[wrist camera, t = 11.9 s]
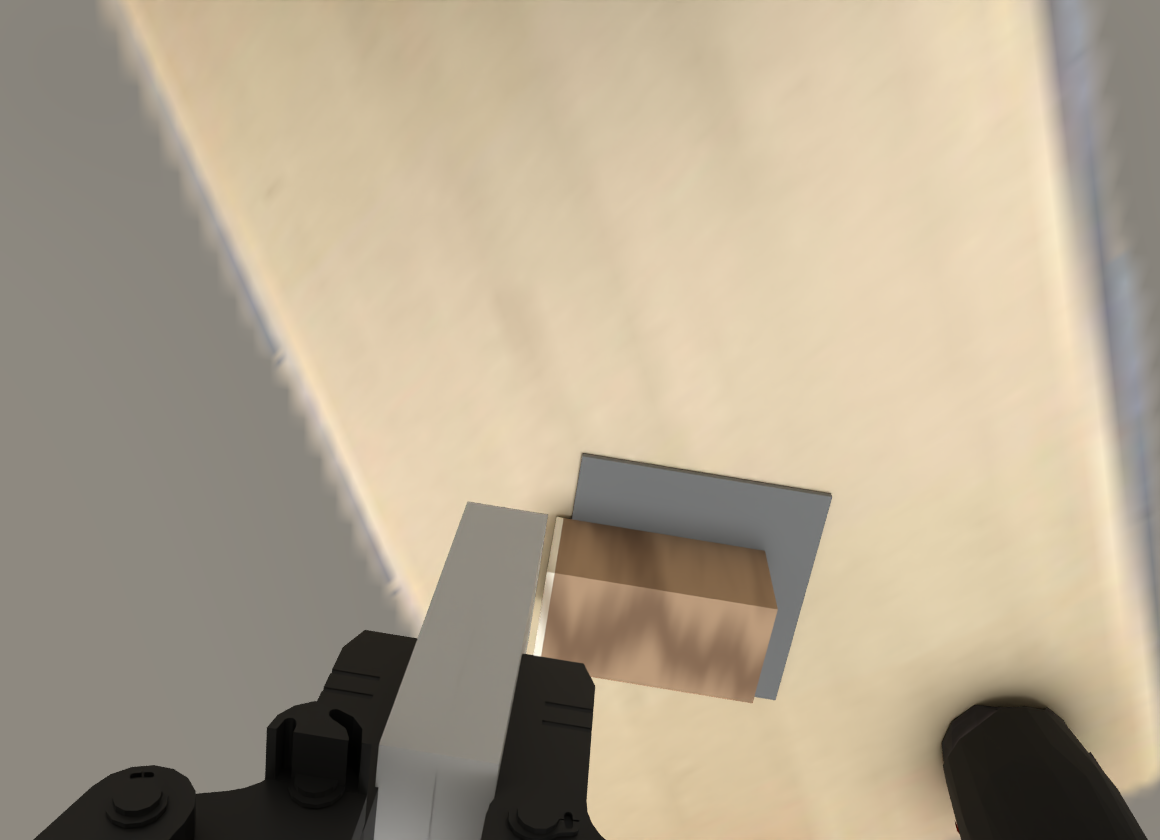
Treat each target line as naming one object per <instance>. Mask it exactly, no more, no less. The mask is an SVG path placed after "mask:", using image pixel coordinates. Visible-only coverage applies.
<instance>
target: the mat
mask: <svg viewBox="0 0 1160 840" xmlns="http://www.w3.org/2000/svg"><path fill="white" fill-rule="evenodd" d="M831 499H832V495H831V494H829V493H823V492H817V491H811V490H805V489H798V488H792V487H786V486H780V485H774V484H768V483H762V482H756V481H749V480H743V479H737V478H731V477H725V476H719V475H713V474H707V473H700V472H694V471H688V470H682V469H676V468H670V467H664V466H658V465H651V464H645V463H639V462H633V461H627V460H621V459H615V458H609V457H602V456H596V455H590V454H584V453H583V455H582V461H581V467H580V473H579V479H578V485H577V491H576V497H575V503H574V509H573V515H572V519H573V520H579V521H585V522H591V523H597V524H604V525H610V526H616V527H622V528H628V529H634V530H640V531H646V532H653V533H659V534H665V535H671V536H677V537H683V538H689V539H695V540H701V541H708V542H714V543H720V544H726V545H732V546H738V547H744V548H750V549H757V550H763V551H765V553H766V558H767V562H768V567H769V572H770V576H771V581H772V585H773V590H774V594H775V599H776V604H777V608H778V611H777V614H776V618H775V622H774V626H773V629H772V633H771V637H770V640H769V644H768V648H767V652H766V655H765V659H764V663H763V666H762V670H761V674H760V678H759V681H758V685H757V689H756V692H755V696H754V697H759V698H765V699H771V700H776V696H777V692H778V689H779V685H780V682H781V678H782V675H783V671H784V667H785V664H786V660H787V657H788V653H789V650H790V646H791V642H792V639H793V635H794V632H795V628H796V625H797V621H798V617H799V614H800V610H801V607H802V603H803V600H804V596H805V592H806V589H807V585H808V582H809V578H810V574H811V571H812V567H813V564H814V560H815V557H816V553H817V549H818V546H819V542H820V539H821V535H822V532H823V528H824V524H825V521H826V517H827V514H828V510H829V507H830V503H831Z"/></svg>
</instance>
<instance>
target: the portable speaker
mask: <svg viewBox="0 0 1160 840" xmlns="http://www.w3.org/2000/svg"><path fill="white" fill-rule="evenodd" d="M942 751H943V761H944V764H943V768H944V773H945V779H946V783H947V787H948V791H949V795H950V799H951V802H952V806H953V810H954V814H955V818H956V821H957V824H956V822H955V824H956V828H957V831H958V833H959V834H960V837H961V840H1148V839H1147V838H1146V836H1145V834H1144V833H1143V831H1142V829H1141V828H1140V826H1139V824H1138V823H1137V821H1136V819H1135V817H1134V816H1133V814H1132V813H1131V811H1130V809H1129V807H1128V806H1127V804H1126V802H1125V801H1124V799H1123V797H1122V796H1121V794H1120V792H1119V791H1118V789H1117V788H1116V786H1115V785H1114V784H1113V783H1112V781H1111V780H1110V779H1109V778H1108V776H1107V775H1106V774H1105V773H1104V771H1103V770H1102V768H1101V767H1100V765H1099V764H1098V762H1097V761H1096V759H1095V758H1094V756H1093V755H1092V754H1091V752H1090V753H1088V752H1087V750H1086V749H1085V748H1084V747H1083V745H1082V744H1081V743H1080V742H1079V740H1078V739H1077V738H1076V737H1075V735H1074V734H1073V733H1072V732H1071V731H1070V729H1069V728H1068V727H1067V725H1066V724H1065V722H1064V720H1062V719H1061V718H1060V717H1059V716H1058V715H1056V714H1055V713H1054V712H1053V711H1051V710H1050V709H1049V708H1048V707H1047V708H1046V709H1045V710H1043V709H1038V708H1032V707H1026V706H1023V707H989V706H980V705H974V706H972V707H971V708H970V709H968V710H967V711H966V712H964V713H963V714H962V715H960V716H959V717H958V718H956V719H955V720H954V721H952V723H951V725H950V727H949V729H948V731H947V733H946V735H945V737H944V739H943V741H942ZM957 825H958V826H957Z"/></svg>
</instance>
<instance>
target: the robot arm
mask: <svg viewBox="0 0 1160 840" xmlns="http://www.w3.org/2000/svg"><path fill="white" fill-rule="evenodd" d="M547 518H548V514H542V513H535V512H529V511H523V510H517V509H511V508H505V507H499V506H492V505H486V504H480V503H474V502H467V505H466V507H465V510H464V513H463V516H462V518H461V521H460V524H459V527H458V529H457V532H456V535H455V537H454V540H453V543H452V546H451V548H450V551H449V554H448V557H447V559H446V562H445V565H444V568H443V570H442V573H441V576H440V579H439V581H438V584H437V587H436V590H435V592H434V595H433V598H432V601H431V603H430V606H429V609H428V611H427V614H426V617H425V620H424V622H423V625H422V628H421V631H420V633H419V636H418V639H417V638H411V637H404V636H399V635H393V634H386V633H380V632H374V631H368V630H364V631H363V632H362V633H361V634H359V635H358V636H357V637H355V638H354V639H353V640H351V641H350V642H349V643H348V644H347V645H345V646H344V647H343V648H342V650H341V652H340V654H339V656H338V658H337V661H336V663H335V665H334V667H333V669H332V673H331V674H330V675H329V677H328V680H327V682H326V684H325V686H324V690H323V691H322V692H321V694H320V696H319V698H318V701H314V702H309V703H305V704H300V705H296V706H293V707H291V708H290V709H288V710H286V711H284V712H282V713H280V714H279V715H277V716H276V718H275V719H274V720H273V721H272V722H271V724H270V725H269V726H268V727H267V743H266V772H265V780H264V781H262V782H260V783H257V784H255V785H252V786H249V787H246V788H242V789H236V790H231V791H222V792H211V793H200V794H195V790H194V788H193V786H192V784H191V782H190V781H189V779H188V778H187V777H185V776H184V775H182V774H180V773H179V772H177V771H175V770H174V769H170V768H165V767H160V766H155V765H152V766H140V767H131V768H128V769H125V770H122V771H119V772H116V773H113V774H110V775H109V776H107V777H106V778H104V779H103V780H101V781H100V782H99V783H97V784H95V785H94V786H92V787H91V788H90V789H89V790H88V791H87V792H86V793H84V794H83V795H82V796H81V797H80V798H79V799H78V800H77V801H76V802H75V803H73V804H72V805H71V806H70V807H69V808H68V809H67V810H66V811H65V812H63V813H62V814H61V815H60V816H59V817H58V818H57V819H56V820H55V821H54V822H52V823H51V824H50V825H49V826H48V827H47V828H46V829H45V830H44V831H42V832H41V833H40V834H39V835H38V836H37V837H36V838H35V839H34V840H605V839H604V838H603V837H602V836H601V835H600V834H599V833H598V831H597V830H596V828H595V827H594V826H593V824H592V822H591V820H590V817H589V815H588V812H587V802H586V799H587V786H588V773H589V759H590V746H591V731H592V720H593V707H594V694H595V685H594V683H593V681H592V679H591V677H590V675H589V673H588V671H587V669H586V667H585V665H584V663H578V662H572V661H565V660H559V659H553V658H547V657H541V656H535V655H529V654H526V650H527V644H528V639H529V633H530V627H531V620H532V614H533V607H534V601H535V595H536V588H537V582H538V575H539V569H540V563H541V556H542V550H543V543H544V537H545V530H546V524H547Z"/></svg>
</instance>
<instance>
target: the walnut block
mask: <svg viewBox="0 0 1160 840" xmlns="http://www.w3.org/2000/svg"><path fill="white" fill-rule="evenodd" d="M777 611H778V608H777V604H776V599H775V594H774V590H773V585H772V581H771V576H770V572H769V567H768V562H767V558H766V553H765V551H763V550H757V549H750V548H744V547H738V546H732V545H726V544H720V543H714V542H708V541H701V540H695V539H689V538H683V537H677V536H671V535H665V534H659V533H653V532H646V531H640V530H634V529H628V528H622V527H616V526H610V525H604V524H597V523H591V522H585V521H579V520H573V519H567V518H561V517H557V518H556V524H555V529H554V535H553V540H552V546H551V552H550V557H549V563H548V568H547V574H546V581H545V587H544V593H543V599H542V606H541V612H540V618H539V624H538V631H537V637H536V643H535V650H534V655H535V656H541V657H547V658H553V659H559V660H565V661H572V662H578V663H584V665H585V667H586V669H587V671H588V673H589V675H590V677H595V678H601V679H607V680H613V681H619V682H626V683H632V684H638V685H644V686H650V687H656V688H662V689H668V690H675V691H681V692H687V693H693V694H699V695H705V696H711V697H717V698H724V699H730V700H736V701H742V702H748V703H753V700H754V696H755V692H756V689H757V685H758V681H759V678H760V674H761V670H762V666H763V663H764V659H765V655H766V652H767V648H768V644H769V640H770V637H771V633H772V629H773V626H774V622H775V618H776V614H777Z"/></svg>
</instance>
